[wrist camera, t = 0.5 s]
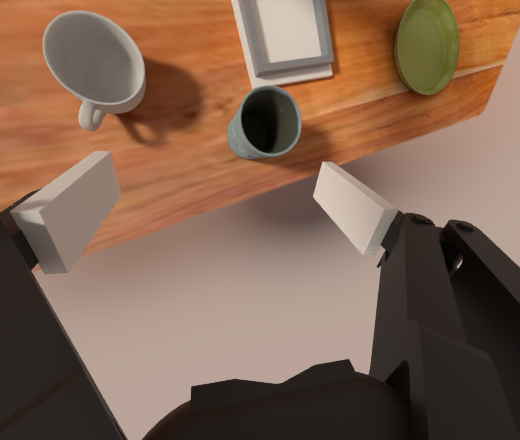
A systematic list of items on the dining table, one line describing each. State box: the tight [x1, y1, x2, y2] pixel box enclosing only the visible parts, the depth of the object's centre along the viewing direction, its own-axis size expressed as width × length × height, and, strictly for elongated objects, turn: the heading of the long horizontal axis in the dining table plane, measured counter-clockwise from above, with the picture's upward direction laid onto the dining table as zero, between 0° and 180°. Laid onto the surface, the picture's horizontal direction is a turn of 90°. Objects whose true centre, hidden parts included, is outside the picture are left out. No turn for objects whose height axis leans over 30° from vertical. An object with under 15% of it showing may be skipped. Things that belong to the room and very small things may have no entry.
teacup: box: [42, 10, 146, 131], centre depth 32 cm, size 14×11×8 cm
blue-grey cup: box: [227, 85, 302, 160], centre depth 39 cm, size 10×10×12 cm
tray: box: [231, 0, 334, 90], centre depth 42 cm, size 20×18×3 cm
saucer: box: [394, 0, 460, 95], centre depth 54 cm, size 21×21×3 cm
